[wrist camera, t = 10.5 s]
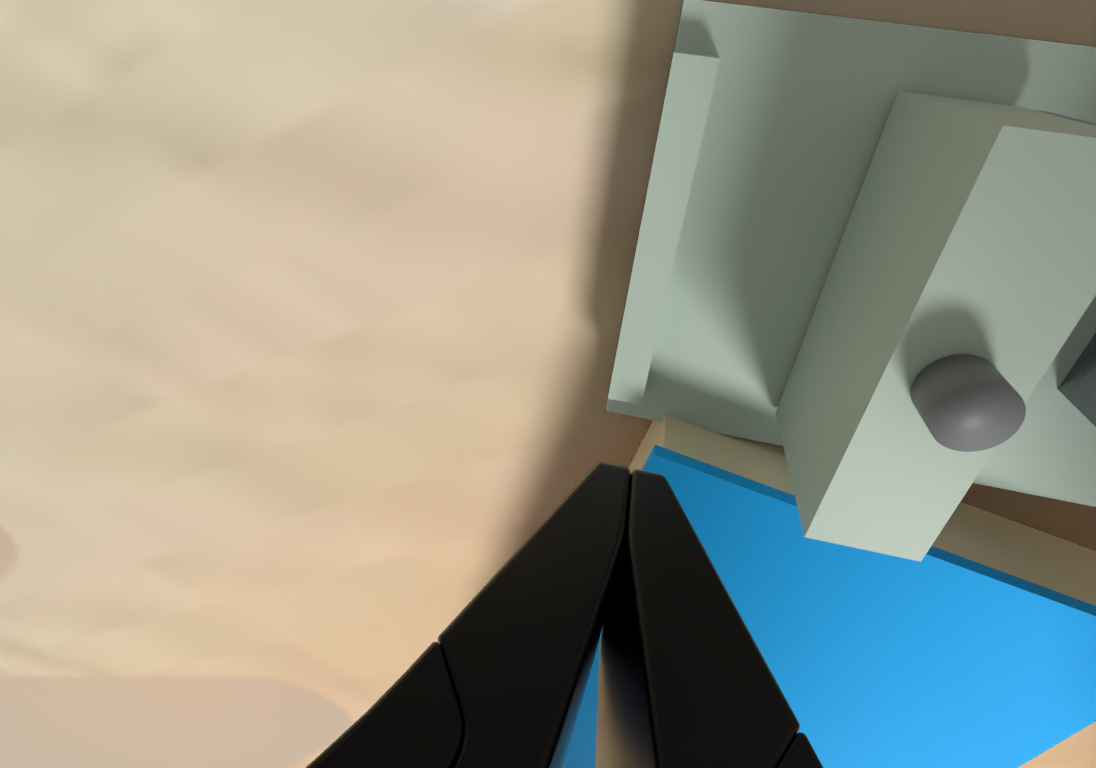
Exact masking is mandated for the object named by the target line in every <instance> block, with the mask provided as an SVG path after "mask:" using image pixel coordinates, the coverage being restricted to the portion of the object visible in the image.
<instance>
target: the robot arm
mask: <svg viewBox="0 0 1096 768" xmlns="http://www.w3.org/2000/svg"><path fill="white" fill-rule="evenodd" d="M601 630H602V633H601ZM600 635H601V641H600V655H599V677H598V706H597V735H596V764H595V768H823V766H822V764H821V762H820V760H819V759H818V757H817V755H816V753H815V751H814V749H813V747H812V745H811V744H810V742H809V740H808V738H807V736H806V735H805V734H804V733H802V732H799V733H798V731H799V729H800V724H799V722H798V720H797V718H796V717H795V715H794V713H793V711H792V709H791V707H790V705H789V704H788V702H787V700H786V698H785V696H784V694H783V693H782V691H781V689H780V687H779V685H778V683H777V682H776V680H775V678H774V676H773V674H772V672H771V670H770V669H769V667H768V665H767V663H766V661H765V659H764V658H763V656H762V654H761V652H760V650H759V648H758V647H757V645H756V643H755V641H754V639H753V637H752V636H751V634H750V632H749V630H748V628H747V626H746V624H745V623H744V621H743V619H742V617H741V615H740V613H739V612H738V610H737V608H736V606H735V604H734V602H733V601H732V599H731V597H730V595H729V593H728V591H727V589H726V588H725V586H724V584H723V582H722V580H721V578H720V577H719V575H718V573H717V571H716V569H715V567H714V566H713V564H712V562H711V560H710V558H709V556H708V554H707V553H706V551H705V549H704V547H703V545H702V543H701V542H700V540H699V538H698V536H697V534H696V532H695V531H694V529H693V527H692V525H691V523H690V521H689V519H688V518H687V516H686V514H685V512H684V510H683V508H682V507H681V505H680V503H679V501H678V499H677V497H676V496H675V494H674V492H673V490H672V488H671V486H670V485H669V483H668V481H667V479H666V478H665V477H664V476H663V475H661V474H658V473H653V472H648V471H643V470H639V469H635V470H633V471H632V472H631V474H630V471H629V469H628V468H627V467H624V466H619V465H614V464H609V463H605V462H600V463H598V464H596V465H595V466H594V467H593V468H592V469H591V471H590V472H589V473H588V474H587V475H586V476H585V477H584V478H583V479H582V480H581V481H580V483H579V484H578V485H577V486H576V487H575V488H574V489H573V490H572V491H571V492H570V493H569V495H568V496H567V497H566V498H565V499H564V500H563V501H562V502H561V503H560V504H559V505H558V507H557V508H556V509H555V510H554V511H553V512H552V513H551V514H550V515H549V516H548V518H547V519H546V520H545V521H544V522H543V523H542V524H541V525H540V526H539V527H538V528H537V530H536V531H535V532H534V533H533V534H532V535H531V536H530V537H529V538H528V539H527V540H526V542H525V543H524V544H523V545H522V546H521V547H520V548H519V549H518V550H517V551H516V552H515V554H514V555H513V556H512V557H511V558H510V559H509V560H508V561H507V562H506V563H505V564H504V566H503V567H502V568H501V569H500V570H499V571H498V572H497V573H496V574H495V575H494V576H493V578H492V579H491V580H490V581H489V582H488V583H487V584H486V585H485V586H484V587H483V589H482V590H481V591H480V592H479V593H478V594H477V595H476V596H475V597H474V598H473V599H472V601H471V602H470V603H469V604H468V605H467V606H466V607H465V608H464V609H463V610H462V611H461V613H460V614H459V615H458V616H457V617H456V618H455V619H454V620H453V621H452V622H451V623H450V625H449V626H448V627H447V628H446V629H445V630H444V631H443V632H442V633H441V634H440V635H439V637H438V642H433V643H432V644H431V645H430V646H429V647H428V648H427V649H426V650H425V651H424V652H423V654H422V655H421V656H420V657H419V658H418V659H417V660H416V661H415V662H414V663H413V664H412V666H411V667H410V668H409V669H408V670H407V671H406V672H405V673H404V674H403V675H402V676H401V677H400V678H399V679H398V680H397V681H396V682H395V683H394V684H393V685H392V686H391V687H390V688H389V689H388V690H387V691H386V692H385V694H384V695H383V696H382V697H381V698H380V699H379V700H378V701H377V702H376V703H375V704H374V705H373V706H372V707H371V708H370V709H369V710H368V711H367V712H366V713H365V714H364V715H363V716H362V717H361V718H359V719H358V720H357V721H356V722H355V723H354V724H353V725H352V726H351V727H350V728H349V729H347V730H346V731H345V732H344V733H343V734H342V735H341V736H340V737H339V738H338V739H337V740H335V741H334V742H333V743H332V744H331V745H330V746H329V747H328V748H327V749H326V750H325V751H323V752H322V753H321V754H320V755H319V756H318V757H317V758H316V759H315V760H314V761H313V762H311V763H310V764H309V765H308V766H307V767H306V768H563V765H564V762H565V758H566V755H567V751H568V748H569V745H570V741H571V738H572V734H573V731H574V727H575V724H576V720H577V717H578V714H579V710H580V707H581V703H582V700H583V696H584V693H585V689H586V686H587V683H588V679H589V676H590V672H591V669H592V665H593V662H594V658H595V654H596V650H597V647H598V643H599V639H600Z"/></svg>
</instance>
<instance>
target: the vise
mask: <svg viewBox="0 0 1096 768" xmlns="http://www.w3.org/2000/svg"><path fill="white" fill-rule="evenodd" d="M898 91H904V92H912V93H920V94H927V95H935V96H943V97H950V98H958V99H966V100H973V101H981V102H989V103H996V104H1004V105H1012V106H1019V107H1024V108H1028V109H1032V110H1039V111H1046V112H1051V113H1055V114H1059V115H1063V116H1067V117H1071V118H1075V119H1079V120H1083V121H1087V122H1091V123H1095V124H1096V47H1092V46H1084V45H1075V44H1067V43H1058V42H1050V41H1041V40H1033V39H1025V38H1016V37H1008V36H999V35H991V34H983V33H974V32H966V31H957V30H949V29H940V28H932V27H924V26H915V25H907V24H898V23H890V22H882V21H873V20H865V19H856V18H848V17H839V16H831V15H823V14H814V13H806V12H797V11H789V10H780V9H772V8H764V7H755V6H747V5H738V4H730V3H722V2H713V1H705V0H684V1H683V6H682V12H681V17H680V22H679V27H678V33H677V38H676V43H675V48H674V53H673V58H672V63H671V69H670V74H669V79H668V84H667V90H666V95H665V100H664V105H663V111H662V116H661V121H660V126H659V132H658V137H657V142H656V147H655V153H654V158H653V163H652V168H651V174H650V179H649V184H648V189H647V195H646V200H645V205H644V210H643V216H642V221H641V226H640V231H639V237H638V242H637V247H636V252H635V258H634V263H633V268H632V273H631V279H630V284H629V289H628V294H627V300H626V305H625V310H624V315H623V321H622V326H621V331H620V336H619V342H618V347H617V352H616V357H615V363H614V368H613V373H612V378H611V384H610V389H609V394H608V400H607V405H606V410H605V411H608V412H613V413H618V414H623V415H628V416H633V417H638V418H643V419H648V420H654V421H659V422H662V421H663V419H664V417H665V415H667V416H670V417H673V418H675V419H678V420H681V421H684V422H686V423H689V424H692V425H695V426H697V427H700V428H703V429H705V430H708V431H711V432H715V433H720V434H725V435H730V436H735V437H740V438H746V439H751V440H756V441H761V442H766V443H771V444H776V445H781V446H783V443H782V439H781V435H780V431H779V426H778V422H777V418H776V414H775V413H776V410H777V407H778V405H779V402H780V399H781V397H782V394H783V392H784V389H785V386H786V384H787V381H788V378H789V376H790V373H791V371H792V368H793V365H794V363H795V360H796V358H797V355H798V352H799V350H800V347H801V344H802V342H803V339H804V337H805V334H806V331H807V329H808V326H809V324H810V321H811V318H812V316H813V313H814V310H815V308H816V305H817V303H818V300H819V297H820V295H821V292H822V289H823V287H824V284H825V282H826V279H827V276H828V274H829V271H830V269H831V266H832V263H833V261H834V258H835V255H836V253H837V250H838V248H839V245H840V242H841V240H842V237H843V235H844V232H845V229H846V227H847V224H848V221H849V219H850V216H851V214H852V211H853V208H854V206H855V203H856V200H857V198H858V195H859V193H860V190H861V187H862V185H863V182H864V180H865V177H866V174H867V172H868V169H869V166H870V164H871V161H872V159H873V156H874V153H875V151H876V148H877V146H878V143H879V140H880V138H881V135H882V132H883V130H884V127H885V125H886V122H887V119H888V117H889V114H890V111H891V109H892V106H893V104H894V101H895V98H896V96H897V93H898ZM1095 333H1096V296H1095V297H1094V299H1093V300H1092V302H1091V303H1090V305H1089V306H1088V308H1087V309H1086V311H1085V312H1084V314H1083V315H1082V317H1081V318H1080V320H1079V321H1078V323H1077V325H1076V326H1075V328H1074V329H1073V331H1072V332H1071V334H1070V335H1069V337H1068V338H1067V340H1066V341H1065V343H1064V344H1063V346H1062V347H1061V349H1060V350H1059V352H1058V354H1057V355H1056V357H1055V358H1054V360H1053V361H1052V363H1051V364H1050V366H1049V367H1048V369H1047V370H1046V372H1045V373H1044V375H1043V376H1042V378H1041V379H1040V381H1039V383H1038V384H1037V386H1036V387H1035V389H1034V390H1033V392H1032V393H1031V395H1030V396H1029V398H1028V399H1027V401H1026V402H1025V407H1026V415H1025V419H1024V421H1023V423H1022V425H1021V427H1020V428H1019V429H1018V431H1017V432H1016V433H1015V434H1014V435H1013V436H1012V437H1010V438H1009V439H1008V440H1006V441H1005V442H1003V443H1001V444H999V445H997V447H996V448H995V450H994V451H993V453H992V454H991V456H990V457H989V459H988V460H987V462H986V463H985V465H984V466H983V468H982V469H981V471H980V473H979V474H978V476H977V477H976V479H975V480H974V482H973V483H976V484H981V485H986V486H991V487H996V488H1001V489H1006V490H1011V491H1016V492H1022V493H1027V494H1032V495H1037V496H1042V497H1047V498H1052V499H1057V500H1062V501H1068V502H1073V503H1078V504H1083V505H1088V506H1093V507H1096V427H1095V426H1094V425H1093V424H1092V423H1091V422H1090V421H1089V420H1088V419H1087V418H1086V417H1085V416H1084V415H1083V414H1082V413H1081V412H1080V411H1079V410H1078V409H1077V408H1076V407H1075V406H1074V405H1073V404H1072V403H1071V402H1070V401H1069V400H1068V399H1067V398H1066V397H1065V396H1064V395H1063V394H1062V393H1061V392H1060V391H1059V390H1058V387H1059V386H1060V384H1061V383H1062V381H1063V380H1064V378H1065V377H1066V375H1067V374H1068V373H1069V371H1070V370H1071V368H1072V367H1073V365H1074V364H1075V362H1076V361H1077V359H1078V358H1079V356H1080V355H1081V354H1082V352H1083V351H1084V349H1085V348H1086V346H1087V345H1088V343H1089V342H1090V340H1091V339H1092V337H1093V336H1094V335H1095Z"/></svg>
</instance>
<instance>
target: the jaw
mask: <svg viewBox="0 0 1096 768" xmlns="http://www.w3.org/2000/svg"><path fill="white" fill-rule="evenodd" d="M1095 296H1096V124H1095V123H1091V122H1087V121H1083V120H1079V119H1075V118H1071V117H1067V116H1063V115H1059V114H1055V113H1051V112H1046V111H1039V110H1032V109H1028V108H1024V107H1019V106H1012V105H1004V104H996V103H989V102H981V101H973V100H966V99H958V98H950V97H943V96H935V95H927V94H920V93H912V92H904V91H898V93H897V96H896V98H895V101H894V104H893V106H892V109H891V111H890V114H889V117H888V119H887V122H886V125H885V127H884V130H883V132H882V135H881V138H880V140H879V143H878V146H877V148H876V151H875V153H874V156H873V159H872V161H871V164H870V166H869V169H868V172H867V174H866V177H865V180H864V182H863V185H862V187H861V190H860V193H859V195H858V198H857V200H856V203H855V206H854V208H853V211H852V214H851V216H850V219H849V221H848V224H847V227H846V229H845V232H844V235H843V237H842V240H841V242H840V245H839V248H838V250H837V253H836V255H835V258H834V261H833V263H832V266H831V269H830V271H829V274H828V276H827V279H826V282H825V284H824V287H823V289H822V292H821V295H820V297H819V300H818V303H817V305H816V308H815V310H814V313H813V316H812V318H811V321H810V324H809V326H808V329H807V331H806V334H805V337H804V339H803V342H802V344H801V347H800V350H799V352H798V355H797V358H796V360H795V363H794V365H793V368H792V371H791V373H790V376H789V378H788V381H787V384H786V386H785V389H784V392H783V394H782V397H781V399H780V402H779V405H778V407H777V410H776V413H775V414H776V418H777V422H778V426H779V431H780V435H781V439H782V443H783V448H784V452H785V456H786V460H787V465H788V469H789V473H790V477H791V482H792V486H793V490H794V495H795V499H796V503H797V507H798V512H799V516H800V520H801V524H802V529H803V533H804V537H806V538H811V539H816V540H820V541H825V542H830V543H835V544H839V545H844V546H849V547H854V548H858V549H863V550H868V551H873V552H877V553H882V554H887V555H891V556H896V557H901V558H906V559H910V560H915V561H920V562H921V561H922V560H923V558H924V556H925V555H926V553H927V552H928V550H929V549H930V547H931V546H932V544H933V543H934V541H935V540H936V538H937V537H938V535H939V534H940V532H941V531H942V529H943V527H944V526H945V524H946V523H947V521H948V520H949V518H950V517H951V515H952V514H953V512H954V511H955V509H956V508H957V506H958V505H959V503H960V502H961V500H962V498H963V497H964V495H965V494H966V492H967V491H968V489H969V488H970V486H971V485H972V483H973V482H974V480H975V479H976V477H977V476H978V474H979V473H980V471H981V469H982V468H983V466H984V465H985V463H986V462H987V460H988V459H989V457H990V456H991V454H992V453H993V451H994V450H995V448H996V447H997V445H999V444H1001V443H1003V442H1005V441H1006V440H1008V439H1009V438H1010V437H1012V436H1013V435H1014V434H1015V433H1016V432H1017V431H1018V429H1019V428H1020V427H1021V425H1022V423H1023V421H1024V419H1025V415H1026V407H1025V402H1026V401H1027V399H1028V398H1029V396H1030V395H1031V393H1032V392H1033V390H1034V389H1035V387H1036V386H1037V384H1038V383H1039V381H1040V379H1041V378H1042V376H1043V375H1044V373H1045V372H1046V370H1047V369H1048V367H1049V366H1050V364H1051V363H1052V361H1053V360H1054V358H1055V357H1056V355H1057V354H1058V352H1059V350H1060V349H1061V347H1062V346H1063V344H1064V343H1065V341H1066V340H1067V338H1068V337H1069V335H1070V334H1071V332H1072V331H1073V329H1074V328H1075V326H1076V325H1077V323H1078V321H1079V320H1080V318H1081V317H1082V315H1083V314H1084V312H1085V311H1086V309H1087V308H1088V306H1089V305H1090V303H1091V302H1092V300H1093V299H1094V297H1095Z"/></svg>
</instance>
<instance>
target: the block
mask: <svg viewBox="0 0 1096 768" xmlns="http://www.w3.org/2000/svg"><path fill="white" fill-rule="evenodd" d="M1058 390H1059V391H1060V392H1061V393H1062V394H1063V395H1064V396H1065V397H1066V398H1067V399H1068V400H1069V401H1070V402H1071V403H1072V404H1073V405H1074V406H1075V407H1076V408H1077V409H1078V410H1079V411H1080V412H1081V413H1082V414H1083V415H1084V416H1085V417H1086V418H1087V419H1088V420H1089V421H1090V422H1091V423H1092V424H1093V425H1094V426H1095V427H1096V333H1095V335H1094V336H1093V337H1092V339H1091V340H1090V342H1089V343H1088V345H1087V346H1086V348H1085V349H1084V351H1083V352H1082V354H1081V355H1080V356H1079V358H1078V359H1077V361H1076V362H1075V364H1074V365H1073V367H1072V368H1071V370H1070V371H1069V373H1068V374H1067V375H1066V377H1065V378H1064V380H1063V381H1062V383H1061V384H1060V386H1059V387H1058Z"/></svg>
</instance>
